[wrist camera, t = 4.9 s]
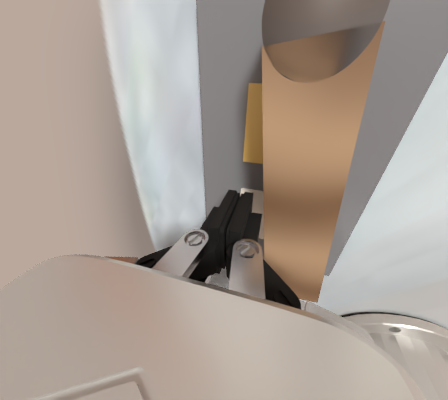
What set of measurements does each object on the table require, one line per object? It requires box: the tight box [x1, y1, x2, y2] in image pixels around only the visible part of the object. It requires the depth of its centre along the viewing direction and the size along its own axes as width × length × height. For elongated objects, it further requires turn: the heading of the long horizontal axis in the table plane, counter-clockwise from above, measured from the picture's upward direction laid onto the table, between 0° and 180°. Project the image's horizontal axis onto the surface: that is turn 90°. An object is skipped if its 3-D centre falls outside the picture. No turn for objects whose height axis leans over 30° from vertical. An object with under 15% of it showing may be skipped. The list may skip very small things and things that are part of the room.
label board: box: [196, 0, 448, 276], centre depth 12 cm, size 18×11×2 cm, turn 0°
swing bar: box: [262, 0, 390, 302], centre depth 10 cm, size 17×4×2 cm, turn 8°
